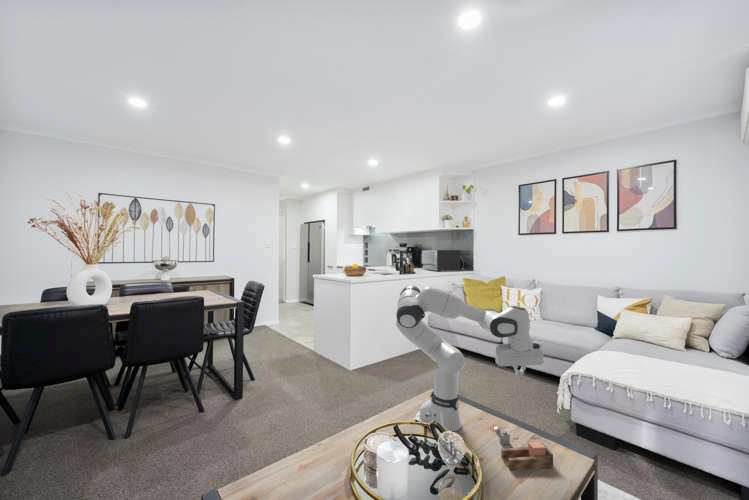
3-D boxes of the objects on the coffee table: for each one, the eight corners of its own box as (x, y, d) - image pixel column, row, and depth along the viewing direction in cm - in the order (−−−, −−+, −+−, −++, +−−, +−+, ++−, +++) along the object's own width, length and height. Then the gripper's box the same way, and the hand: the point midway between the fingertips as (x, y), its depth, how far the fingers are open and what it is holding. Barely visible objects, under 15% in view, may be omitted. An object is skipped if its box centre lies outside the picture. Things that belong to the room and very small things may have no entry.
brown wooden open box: (510, 470, 117) (509, 456, 117) (501, 458, 124) (501, 445, 124) (553, 468, 118) (553, 454, 118) (542, 456, 125) (542, 442, 125)
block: (533, 463, 119) (533, 448, 119) (528, 457, 123) (528, 442, 123) (545, 462, 119) (545, 447, 119) (540, 456, 123) (540, 441, 123)
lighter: (507, 441, 134) (507, 423, 134) (510, 443, 133) (509, 425, 133) (493, 444, 132) (493, 426, 132) (496, 447, 131) (496, 428, 131)
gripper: (499, 346, 131) (499, 378, 131) (545, 344, 132) (546, 376, 132) (492, 342, 137) (493, 373, 137) (536, 340, 138) (537, 371, 138)
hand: (519, 374), depth 134 cm, fingers closed
